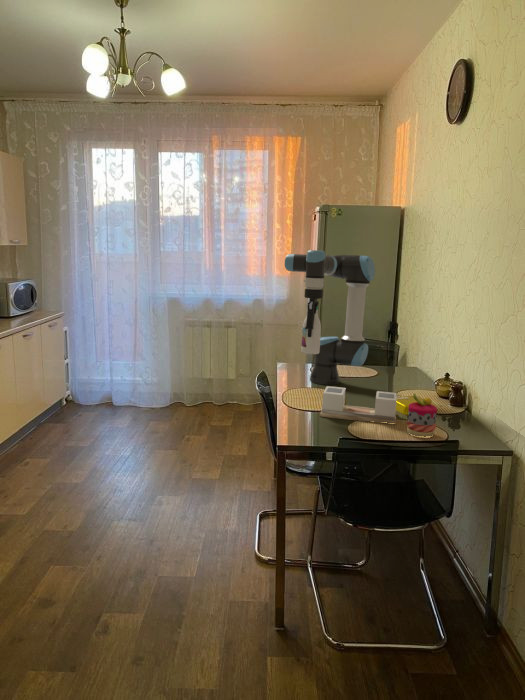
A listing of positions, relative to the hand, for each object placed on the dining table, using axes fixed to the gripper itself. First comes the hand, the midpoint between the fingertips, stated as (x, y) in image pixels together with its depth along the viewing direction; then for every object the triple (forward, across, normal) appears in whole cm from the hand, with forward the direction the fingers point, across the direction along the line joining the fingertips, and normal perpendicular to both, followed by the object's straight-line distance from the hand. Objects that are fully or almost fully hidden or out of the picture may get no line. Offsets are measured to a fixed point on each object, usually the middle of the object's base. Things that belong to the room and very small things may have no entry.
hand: (310, 343), depth 222 cm
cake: (+28, +18, +46) cm, 57 cm away
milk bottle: (+4, 0, 0) cm, 4 cm away
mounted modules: (+27, +3, +22) cm, 35 cm away
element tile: (+29, -14, +44) cm, 54 cm away
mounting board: (+28, +3, +22) cm, 36 cm away
